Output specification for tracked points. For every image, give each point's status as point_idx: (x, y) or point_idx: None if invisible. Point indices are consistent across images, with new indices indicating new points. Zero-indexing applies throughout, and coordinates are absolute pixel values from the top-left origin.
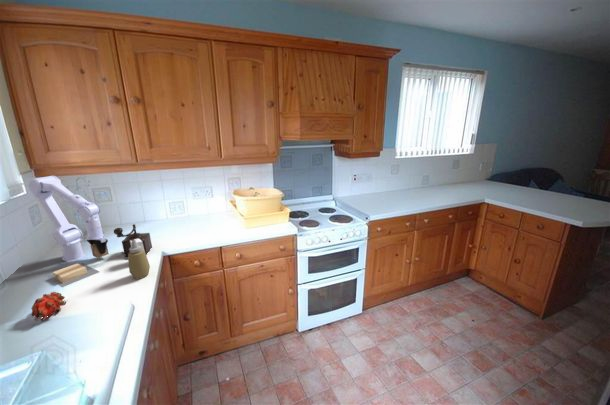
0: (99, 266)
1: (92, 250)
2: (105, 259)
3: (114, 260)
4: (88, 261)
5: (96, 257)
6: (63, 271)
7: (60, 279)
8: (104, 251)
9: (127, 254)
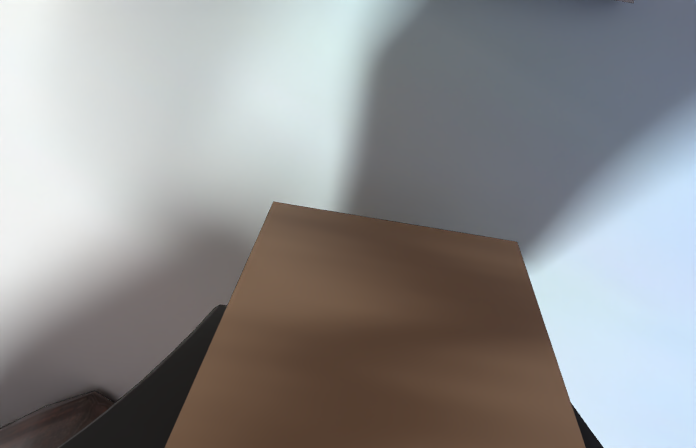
0: (128, 58)
1: (484, 347)
2: None
3: (146, 290)
4: (602, 126)
5: (337, 213)
6: None
7: None
8: None
9: (40, 440)
